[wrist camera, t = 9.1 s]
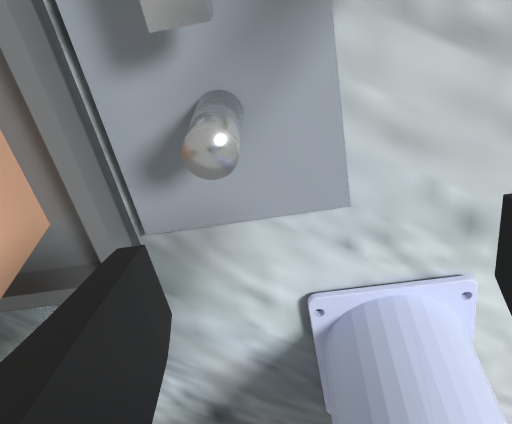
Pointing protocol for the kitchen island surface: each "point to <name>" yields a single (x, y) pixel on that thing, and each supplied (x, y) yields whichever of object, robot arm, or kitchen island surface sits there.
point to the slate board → (218, 78)
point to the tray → (55, 161)
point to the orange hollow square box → (16, 217)
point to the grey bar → (202, 98)
